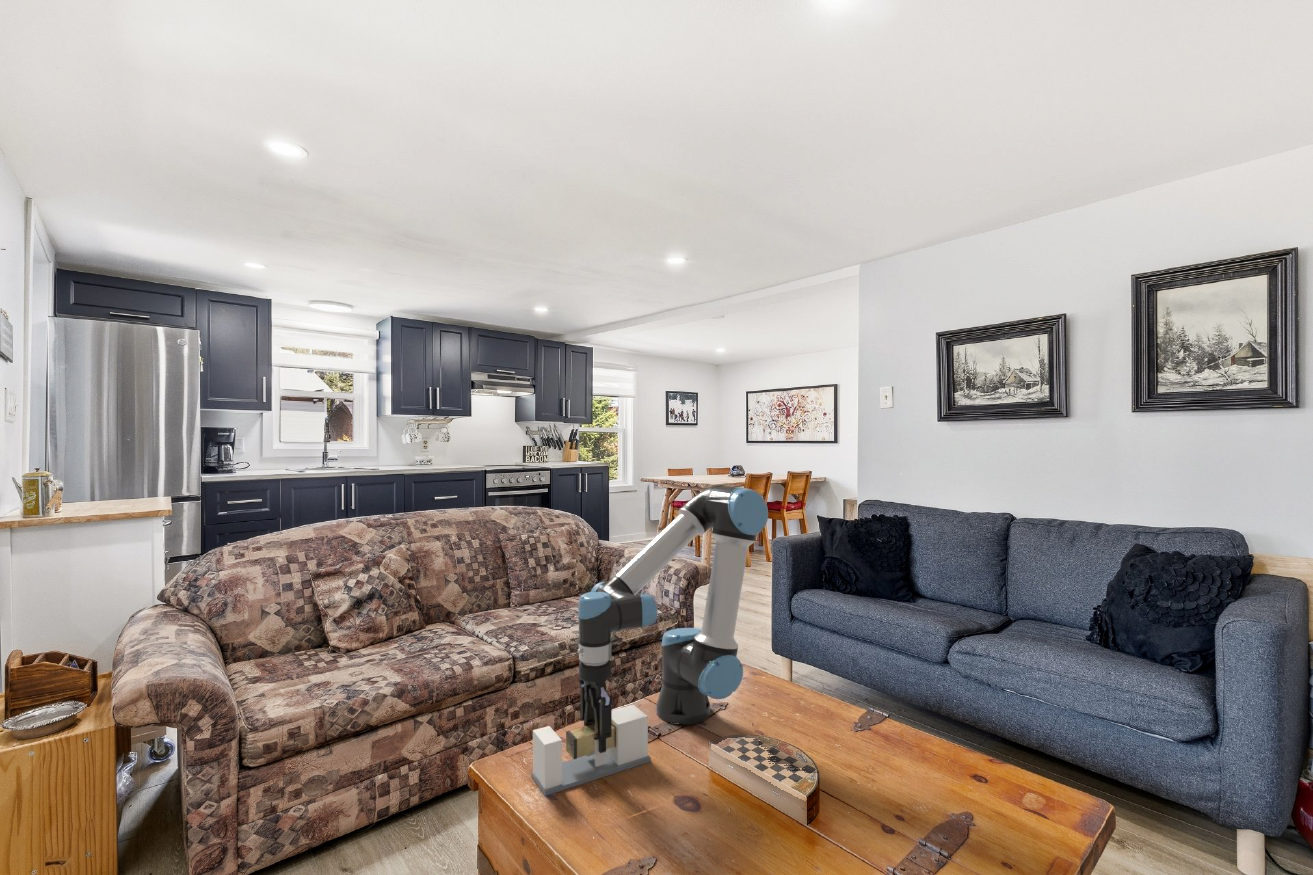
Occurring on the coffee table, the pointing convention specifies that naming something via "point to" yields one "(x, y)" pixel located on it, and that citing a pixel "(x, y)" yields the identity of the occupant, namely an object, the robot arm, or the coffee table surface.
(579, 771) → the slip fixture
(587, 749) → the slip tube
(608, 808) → the coffee table surface
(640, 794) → the coffee table surface
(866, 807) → the coffee table surface
